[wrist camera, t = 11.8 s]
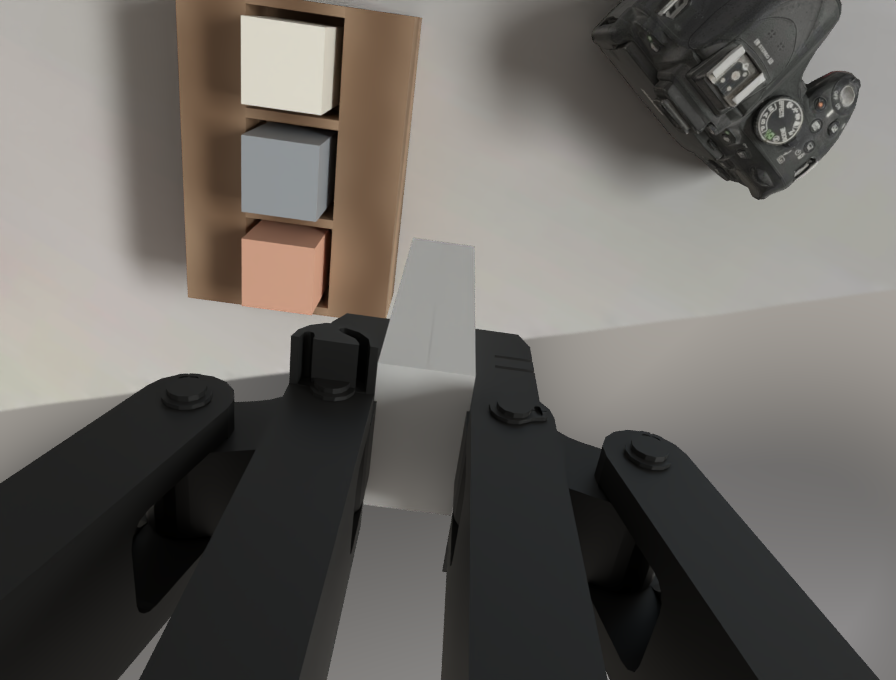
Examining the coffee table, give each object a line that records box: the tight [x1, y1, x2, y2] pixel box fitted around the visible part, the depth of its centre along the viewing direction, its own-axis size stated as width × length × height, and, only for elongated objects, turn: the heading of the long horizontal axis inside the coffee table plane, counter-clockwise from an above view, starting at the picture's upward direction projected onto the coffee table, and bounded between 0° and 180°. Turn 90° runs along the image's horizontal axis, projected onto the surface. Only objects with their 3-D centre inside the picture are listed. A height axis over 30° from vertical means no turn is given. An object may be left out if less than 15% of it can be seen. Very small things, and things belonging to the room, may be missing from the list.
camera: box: [592, 0, 861, 200], centre depth 34 cm, size 13×10×10 cm
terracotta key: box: [242, 219, 332, 315], centre depth 39 cm, size 4×4×5 cm
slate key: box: [241, 122, 338, 222], centre depth 37 cm, size 4×4×5 cm
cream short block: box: [241, 15, 344, 115], centre depth 34 cm, size 4×4×5 cm
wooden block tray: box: [176, 0, 422, 318], centre depth 39 cm, size 12×17×5 cm
